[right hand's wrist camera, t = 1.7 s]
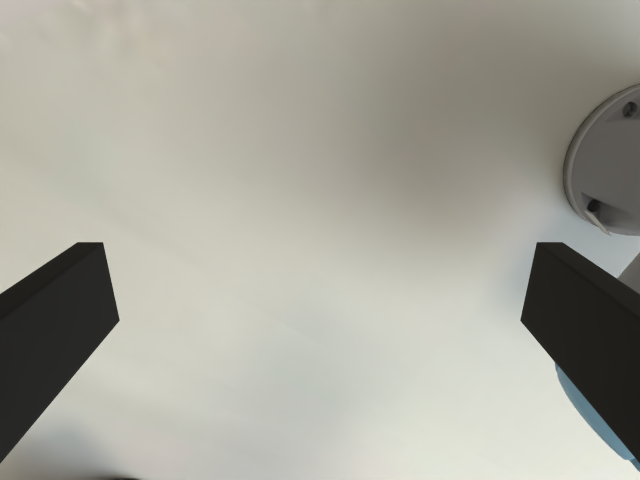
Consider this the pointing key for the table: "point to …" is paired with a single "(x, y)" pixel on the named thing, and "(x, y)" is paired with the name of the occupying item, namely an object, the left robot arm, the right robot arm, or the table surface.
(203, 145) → the table surface
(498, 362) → the table surface
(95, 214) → the table surface
